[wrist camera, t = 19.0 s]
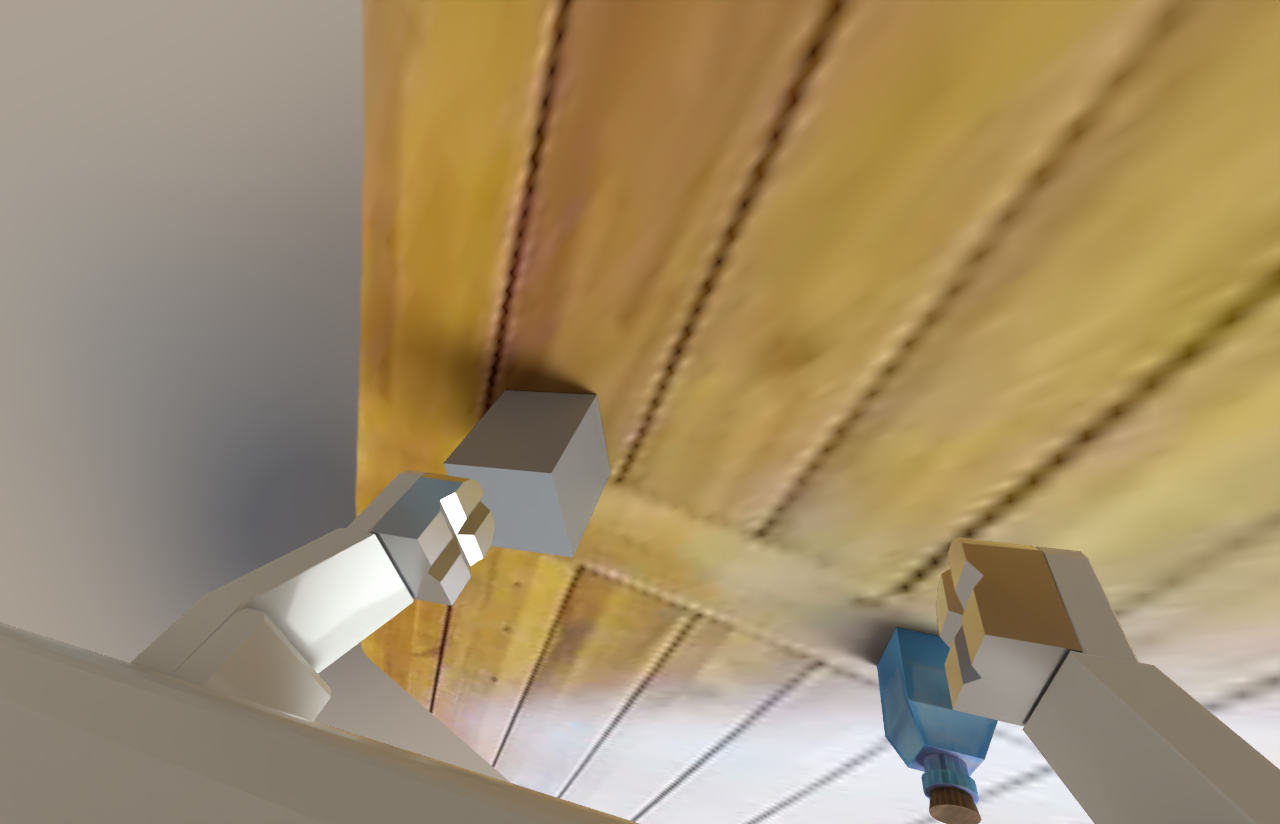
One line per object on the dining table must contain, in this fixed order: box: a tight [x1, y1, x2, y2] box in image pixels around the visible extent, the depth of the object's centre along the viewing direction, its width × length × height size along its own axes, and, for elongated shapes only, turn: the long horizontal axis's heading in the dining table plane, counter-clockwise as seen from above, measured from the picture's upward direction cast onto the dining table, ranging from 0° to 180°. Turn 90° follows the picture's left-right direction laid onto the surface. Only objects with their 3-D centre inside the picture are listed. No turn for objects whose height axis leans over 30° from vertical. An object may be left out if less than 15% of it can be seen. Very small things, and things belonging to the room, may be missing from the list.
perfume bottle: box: [877, 627, 998, 824], centre depth 41 cm, size 6×6×12 cm
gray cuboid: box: [443, 390, 611, 557], centre depth 38 cm, size 8×8×9 cm
